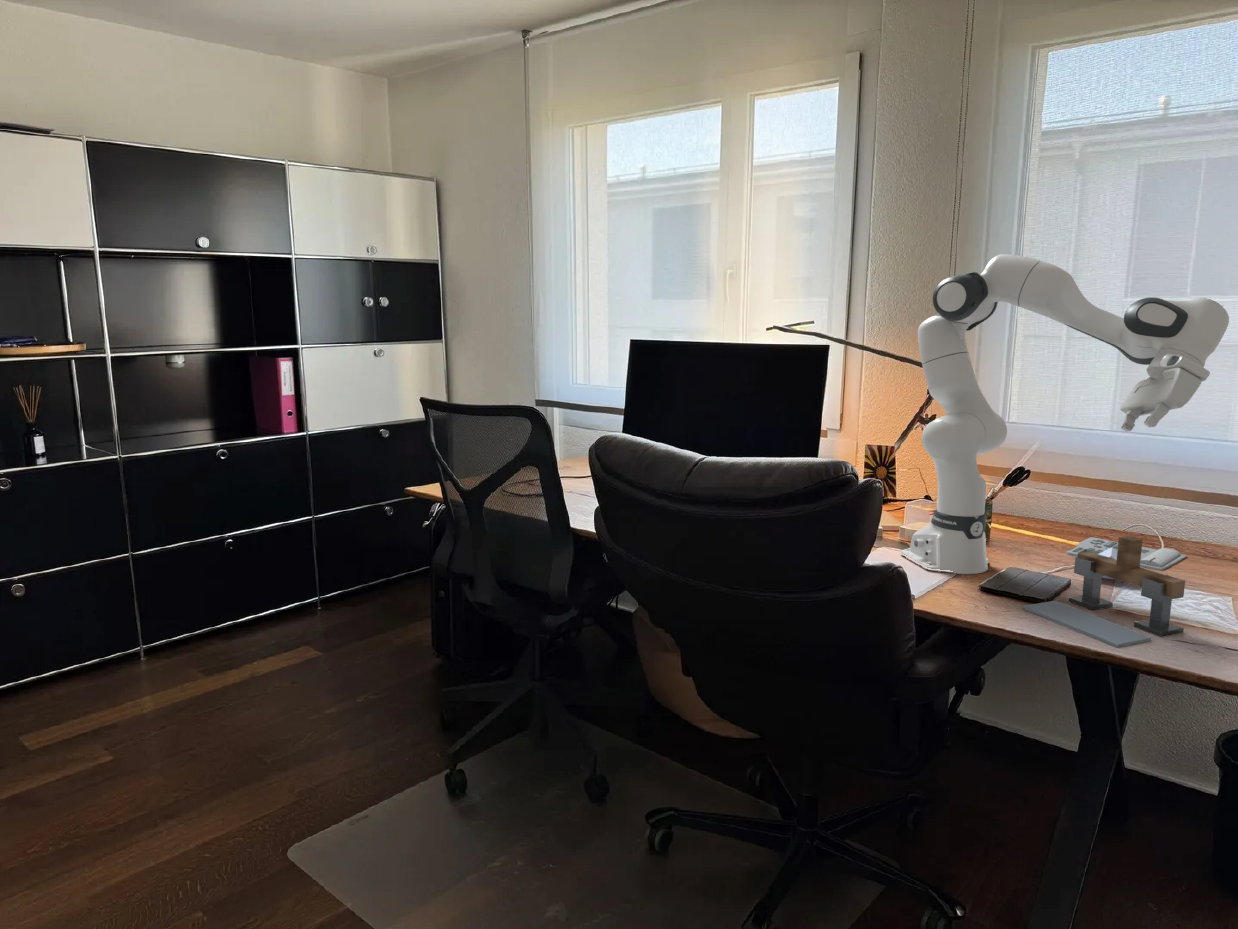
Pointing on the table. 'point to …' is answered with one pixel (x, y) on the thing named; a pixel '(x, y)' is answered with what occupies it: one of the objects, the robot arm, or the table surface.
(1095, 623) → the slate mat
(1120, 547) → the walnut rail
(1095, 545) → the office telephone
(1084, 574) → the hook posts
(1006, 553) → the table surface
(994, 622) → the table surface
